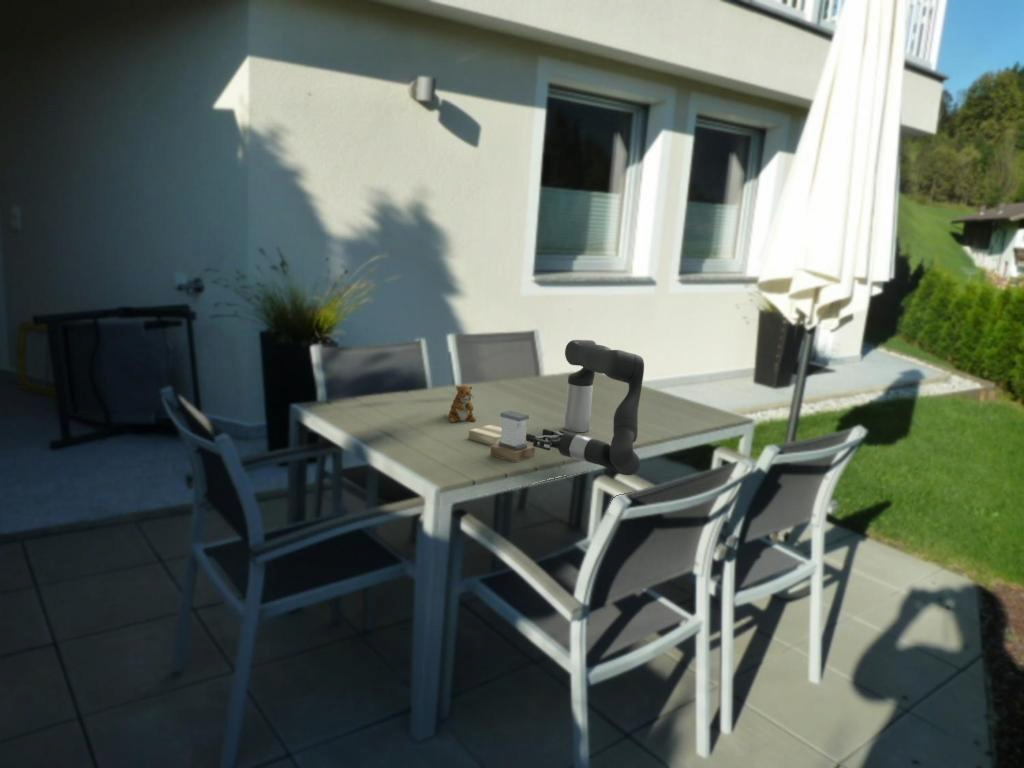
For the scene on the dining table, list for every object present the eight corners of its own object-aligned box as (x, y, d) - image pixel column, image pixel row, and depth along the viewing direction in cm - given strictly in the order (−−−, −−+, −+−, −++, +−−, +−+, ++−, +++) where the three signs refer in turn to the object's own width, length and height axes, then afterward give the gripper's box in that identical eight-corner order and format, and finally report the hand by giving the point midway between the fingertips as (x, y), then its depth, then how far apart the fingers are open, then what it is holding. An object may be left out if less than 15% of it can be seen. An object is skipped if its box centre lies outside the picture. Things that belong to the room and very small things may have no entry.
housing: (508, 442, 248) (510, 410, 246) (526, 447, 243) (529, 415, 241) (498, 445, 244) (500, 412, 242) (517, 450, 239) (519, 417, 237)
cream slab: (491, 432, 269) (491, 424, 268) (517, 439, 262) (518, 431, 261) (468, 438, 260) (469, 430, 259) (495, 446, 253) (495, 437, 252)
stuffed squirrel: (450, 423, 278) (452, 388, 275) (444, 413, 291) (445, 380, 288) (477, 423, 280) (479, 388, 277) (469, 413, 294) (471, 380, 291)
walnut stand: (510, 448, 251) (510, 440, 250) (533, 456, 245) (534, 447, 244) (490, 454, 243) (490, 445, 243) (514, 462, 237) (515, 453, 237)
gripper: (591, 430, 232) (549, 419, 242) (565, 439, 221) (521, 427, 231) (589, 453, 234) (547, 441, 244) (563, 463, 223) (520, 450, 233)
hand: (535, 434), depth 237 cm, fingers open, 8 cm apart
